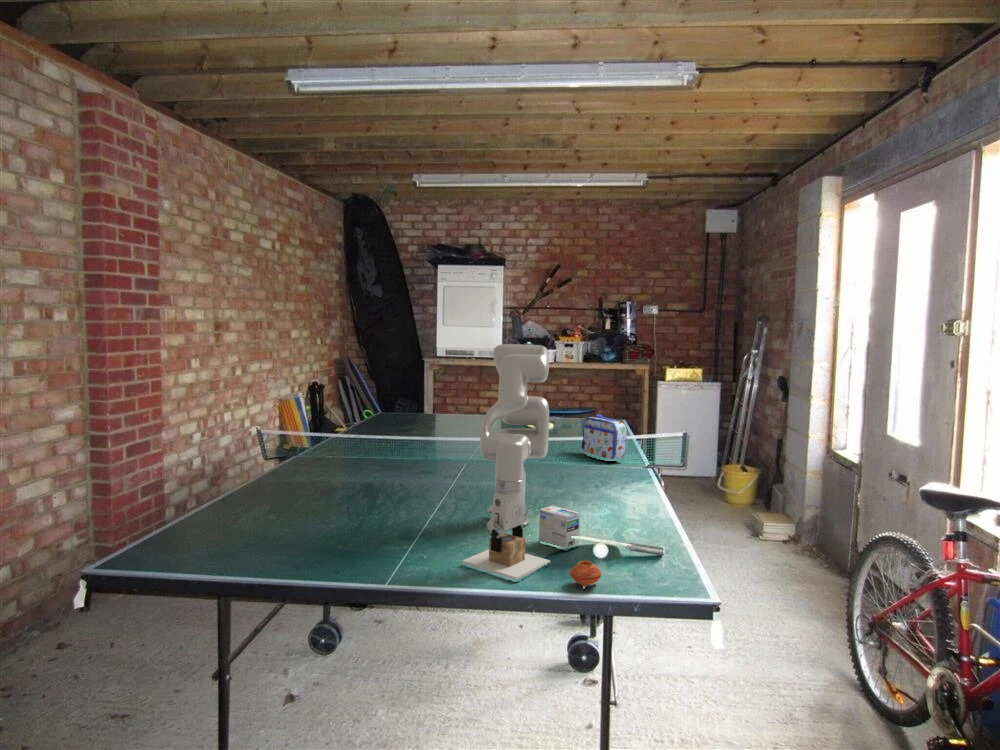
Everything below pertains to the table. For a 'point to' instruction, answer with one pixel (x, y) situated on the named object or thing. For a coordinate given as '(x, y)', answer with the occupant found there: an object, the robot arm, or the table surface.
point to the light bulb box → (559, 526)
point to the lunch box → (604, 437)
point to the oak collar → (509, 551)
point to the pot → (585, 573)
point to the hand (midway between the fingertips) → (506, 546)
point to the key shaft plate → (513, 572)
